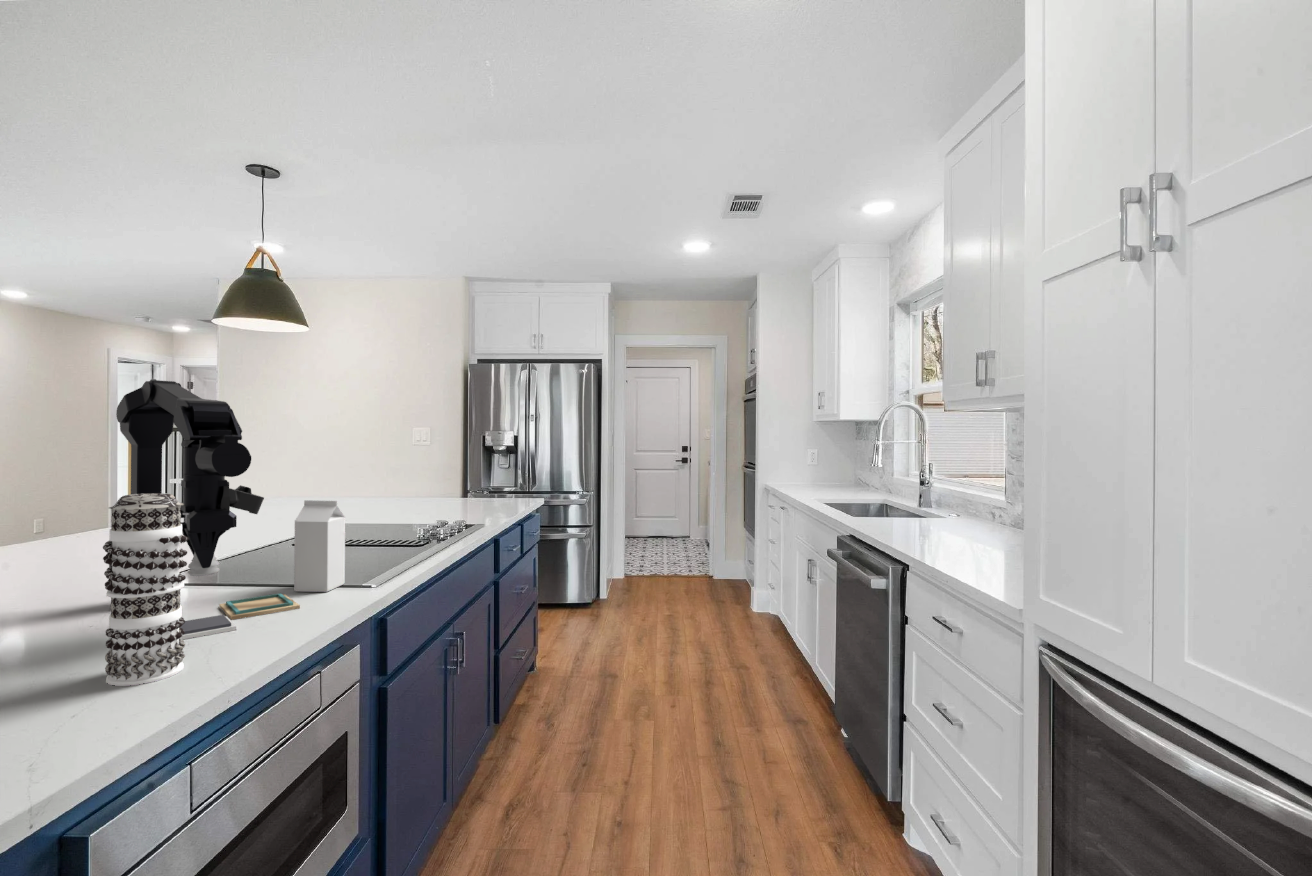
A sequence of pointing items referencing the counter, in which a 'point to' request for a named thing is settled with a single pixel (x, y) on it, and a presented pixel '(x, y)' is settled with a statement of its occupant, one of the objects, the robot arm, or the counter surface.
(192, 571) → the rook chess piece
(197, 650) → the counter surface
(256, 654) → the counter surface
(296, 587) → the milk carton
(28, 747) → the counter surface
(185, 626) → the ink pad
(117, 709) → the counter surface
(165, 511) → the decorative candle
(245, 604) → the print board
